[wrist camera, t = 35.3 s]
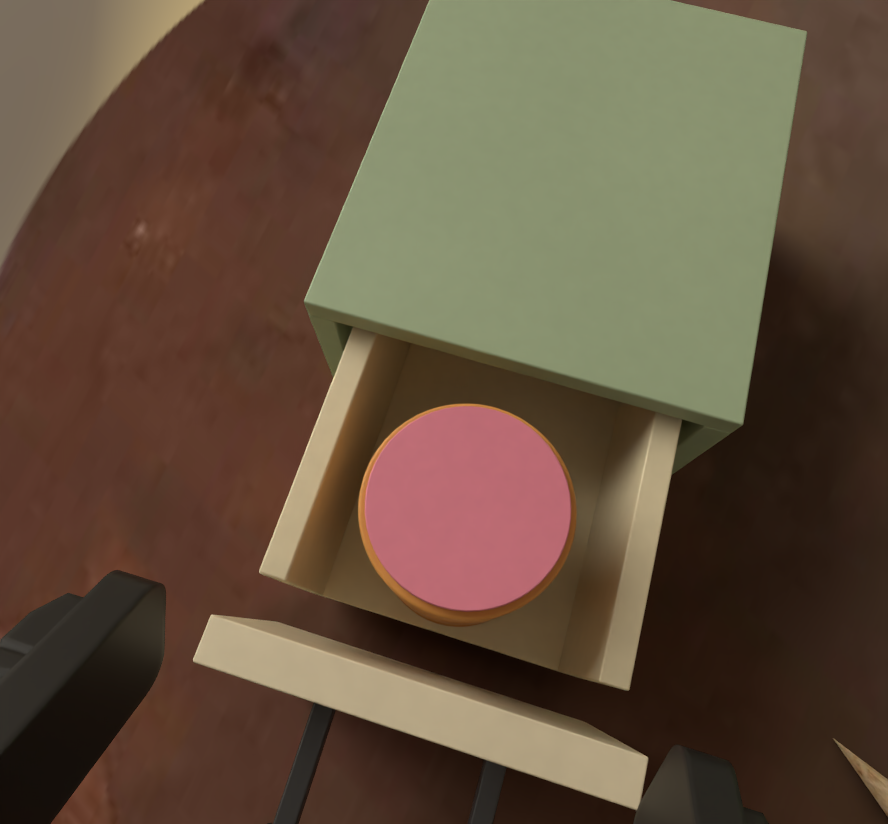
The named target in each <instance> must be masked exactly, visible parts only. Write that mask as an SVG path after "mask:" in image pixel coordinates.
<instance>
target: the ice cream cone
mask: <svg viewBox="0 0 888 824" xmlns="http://www.w3.org/2000/svg"><path fill="white" fill-rule="evenodd" d="M833 739H834V738H833ZM834 741H835V742H836V744H837V745H838V746H839V748H840V749H841V751H842V752H843V754H844V755H845V756H846V758H847V759H848V761H849V762H850V764H851V765H852V766H853V768H854V769H855V771H856V772H857V774H858V775H859V776H860V778H861V779H862V781H863V782H864V784H865V785H866V786H867V788H868V789H869V791H870V792H871V794H872V795H873V796H874V798H875V799H876V801H877V802H878V804H879V805H880V806H881V808H882V809H883V811H884V812H885V814H886V815H887V816H888V779H886V778H885V777H884V776H882V775H881V774H880V773H879V772H877V771H876V770H875V769H873V768H872V767H871V766H869V765H868V764H867V763H865V762H864V761H863V760H861V759H860V758H859V757H857V756H856V755H855V754H853V753H852V752H851V751H849V750H848V749H847V748H846V747H844V746H843V745H842V744H840V743H839V742H838V741H836V740H835V739H834Z"/></svg>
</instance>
